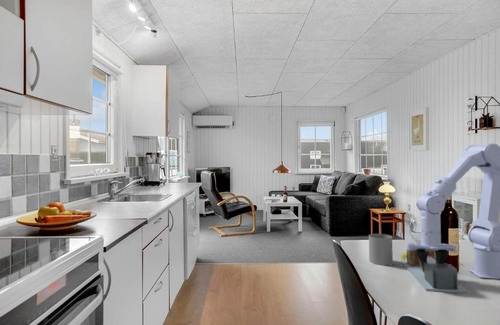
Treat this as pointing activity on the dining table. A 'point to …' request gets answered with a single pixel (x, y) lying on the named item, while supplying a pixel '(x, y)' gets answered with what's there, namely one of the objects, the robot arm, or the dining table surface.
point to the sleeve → (441, 276)
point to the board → (421, 279)
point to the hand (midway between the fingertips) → (431, 272)
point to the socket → (413, 257)
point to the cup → (380, 249)
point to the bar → (429, 260)
